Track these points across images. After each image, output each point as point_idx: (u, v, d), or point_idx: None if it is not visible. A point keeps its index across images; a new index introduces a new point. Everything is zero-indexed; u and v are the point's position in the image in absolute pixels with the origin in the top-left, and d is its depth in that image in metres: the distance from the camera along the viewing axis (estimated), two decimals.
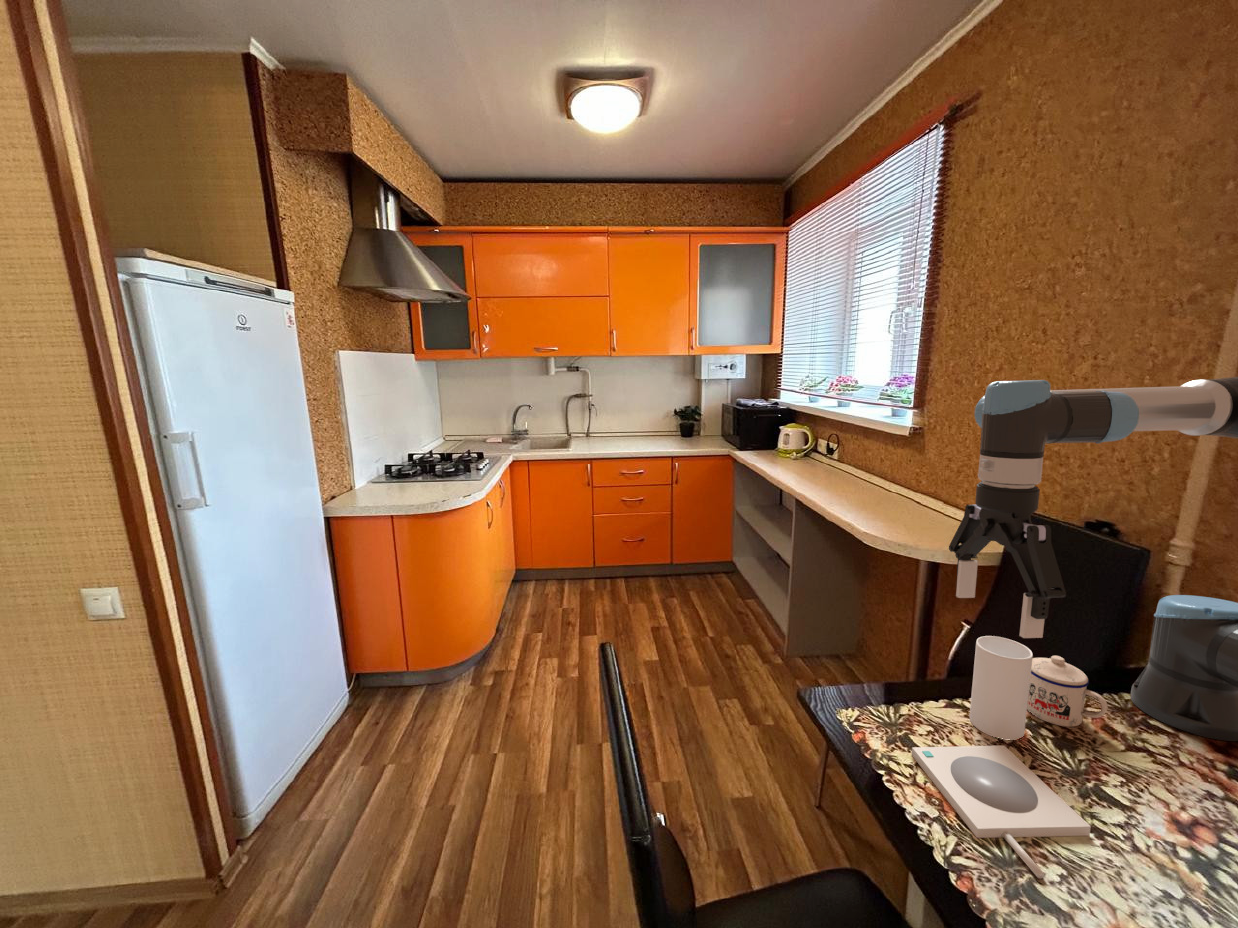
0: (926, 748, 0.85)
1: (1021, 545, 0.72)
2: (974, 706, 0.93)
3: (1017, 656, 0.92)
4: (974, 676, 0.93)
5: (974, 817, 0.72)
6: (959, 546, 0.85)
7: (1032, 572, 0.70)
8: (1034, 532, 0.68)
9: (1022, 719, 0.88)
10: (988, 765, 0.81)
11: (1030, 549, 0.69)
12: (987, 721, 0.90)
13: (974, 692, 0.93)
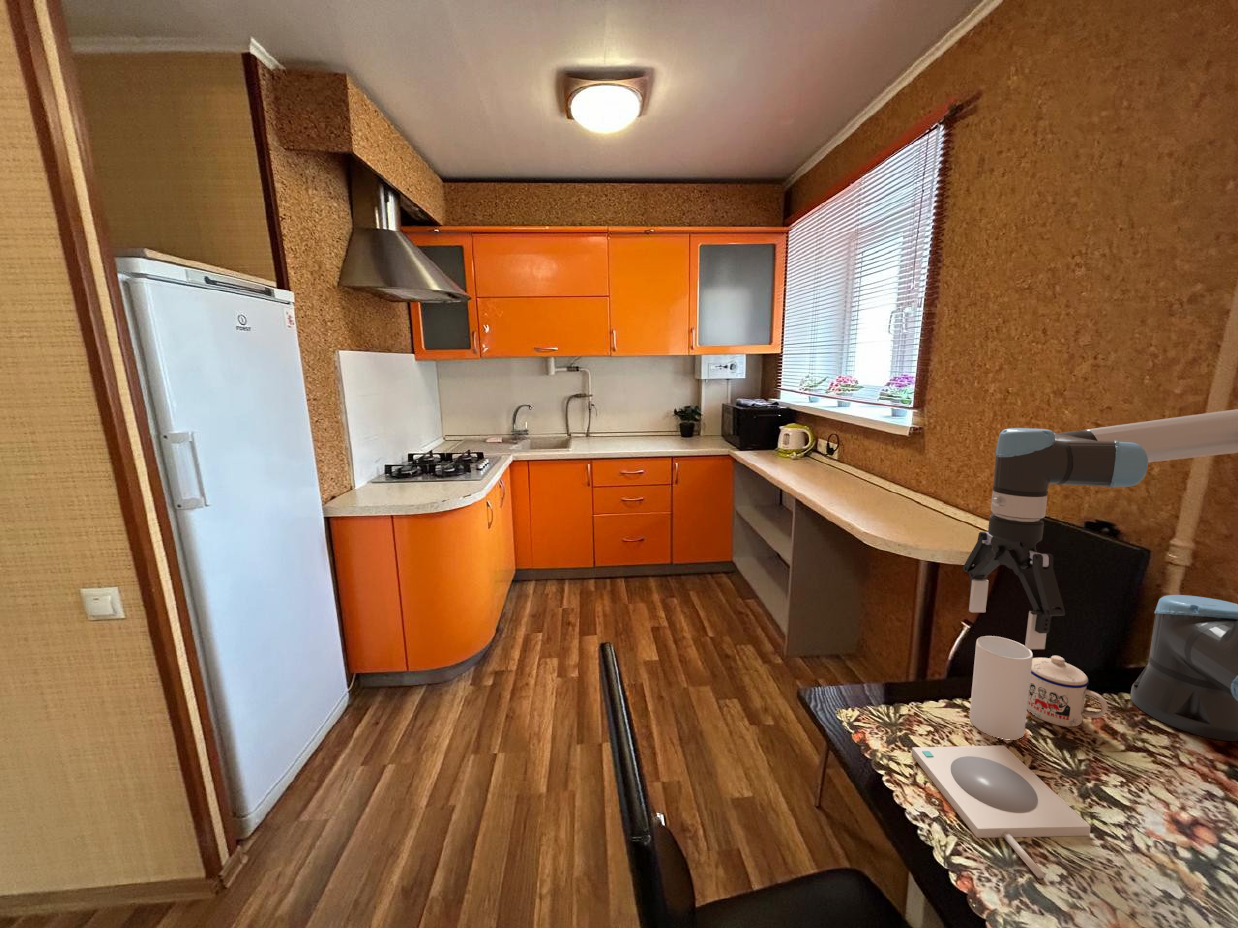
0: (926, 748, 0.85)
1: (1027, 570, 0.84)
2: (974, 706, 0.93)
3: (1017, 656, 0.92)
4: (974, 676, 0.93)
5: (974, 817, 0.72)
6: (972, 567, 0.97)
7: (1036, 593, 0.82)
8: (1039, 560, 0.81)
9: (1022, 719, 0.88)
10: (988, 765, 0.81)
11: (1035, 574, 0.81)
12: (987, 721, 0.90)
13: (974, 692, 0.93)
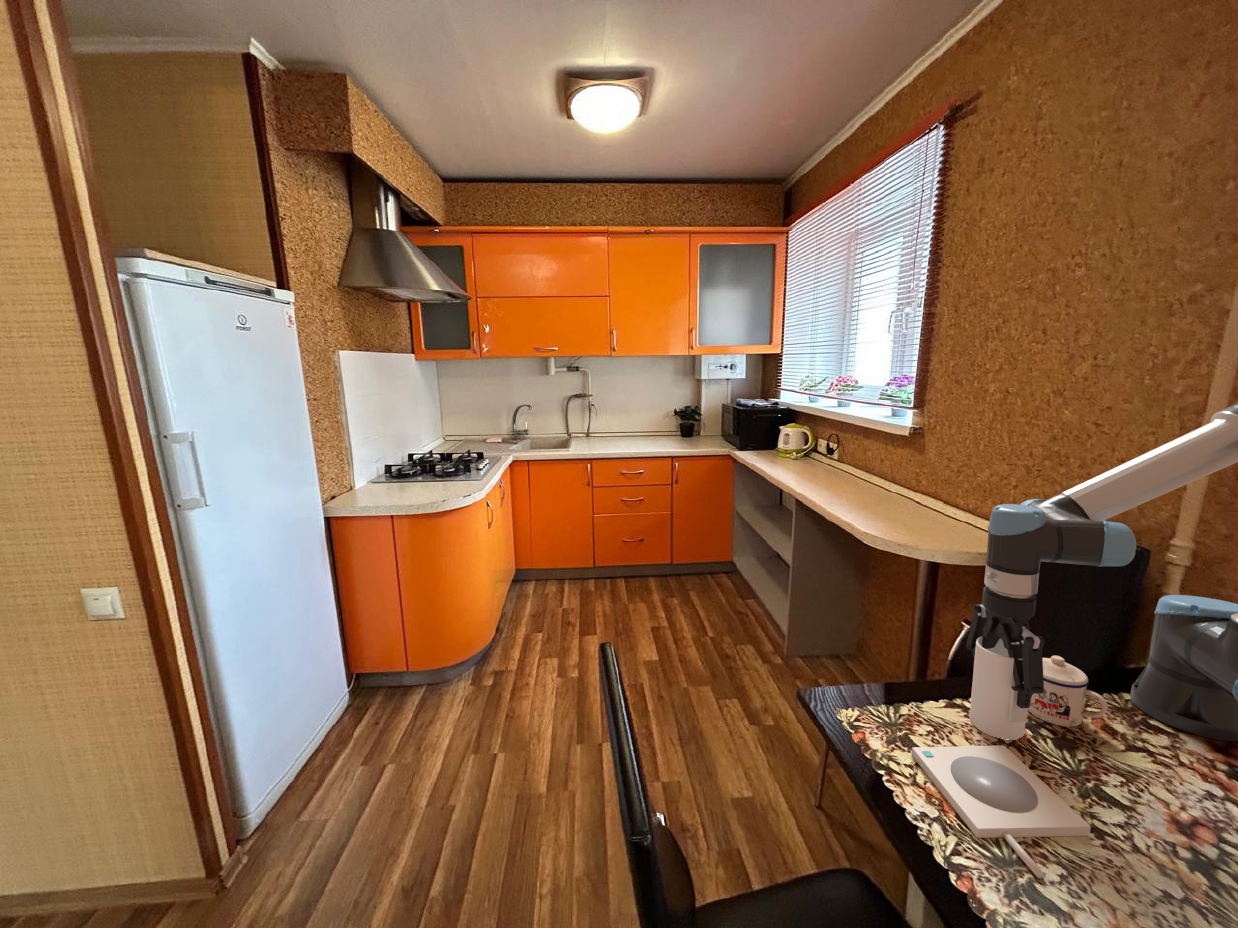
0: (926, 748, 0.85)
1: (1017, 646, 0.87)
2: (973, 706, 0.93)
3: None
4: (974, 676, 0.93)
5: (974, 817, 0.72)
6: (975, 645, 0.97)
7: (1021, 670, 0.86)
8: (1030, 643, 0.83)
9: None
10: (988, 765, 0.81)
11: (1023, 653, 0.84)
12: (987, 721, 0.90)
13: (974, 692, 0.93)
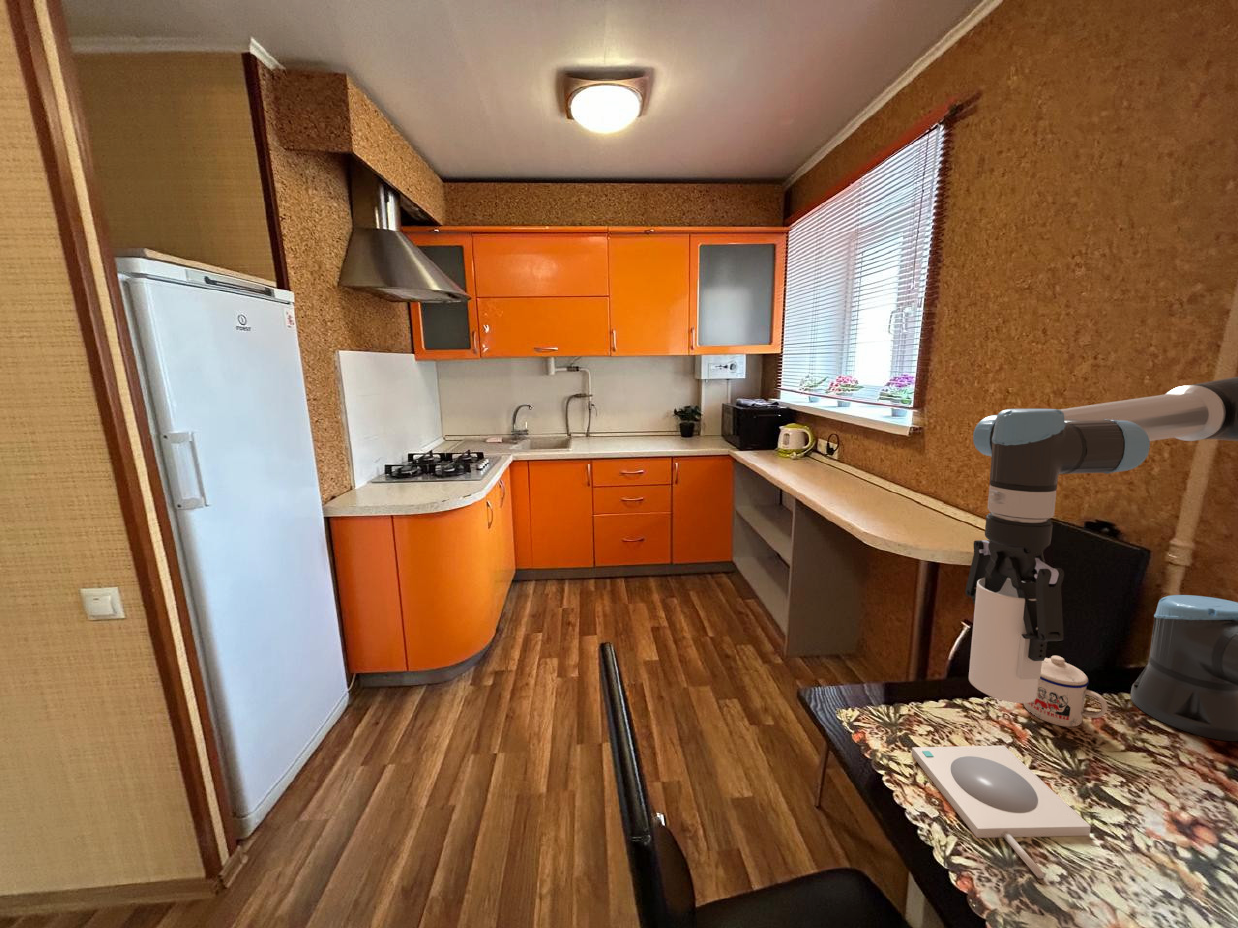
0: (926, 748, 0.85)
1: (1029, 584, 0.69)
2: (974, 663, 0.75)
3: None
4: (974, 626, 0.75)
5: (974, 817, 0.72)
6: None
7: (1034, 614, 0.68)
8: (1046, 577, 0.66)
9: None
10: (988, 765, 0.81)
11: (1037, 591, 0.67)
12: (990, 680, 0.73)
13: (974, 645, 0.75)
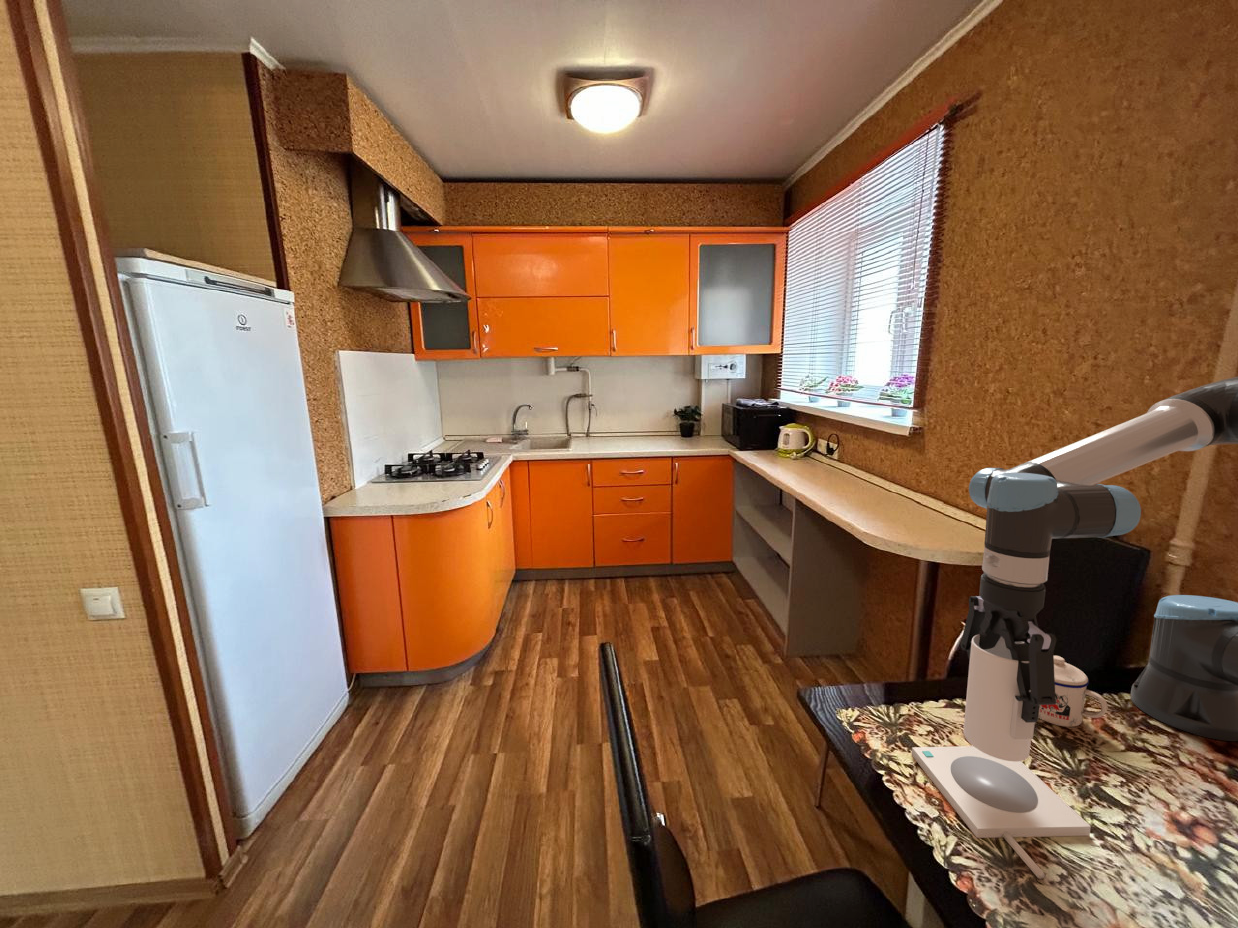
0: (926, 748, 0.85)
1: (1022, 646, 0.71)
2: (968, 718, 0.77)
3: None
4: (969, 682, 0.77)
5: (974, 817, 0.72)
6: None
7: (1027, 676, 0.70)
8: (1038, 642, 0.67)
9: None
10: (988, 765, 0.81)
11: (1030, 655, 0.68)
12: (984, 737, 0.74)
13: (969, 701, 0.76)
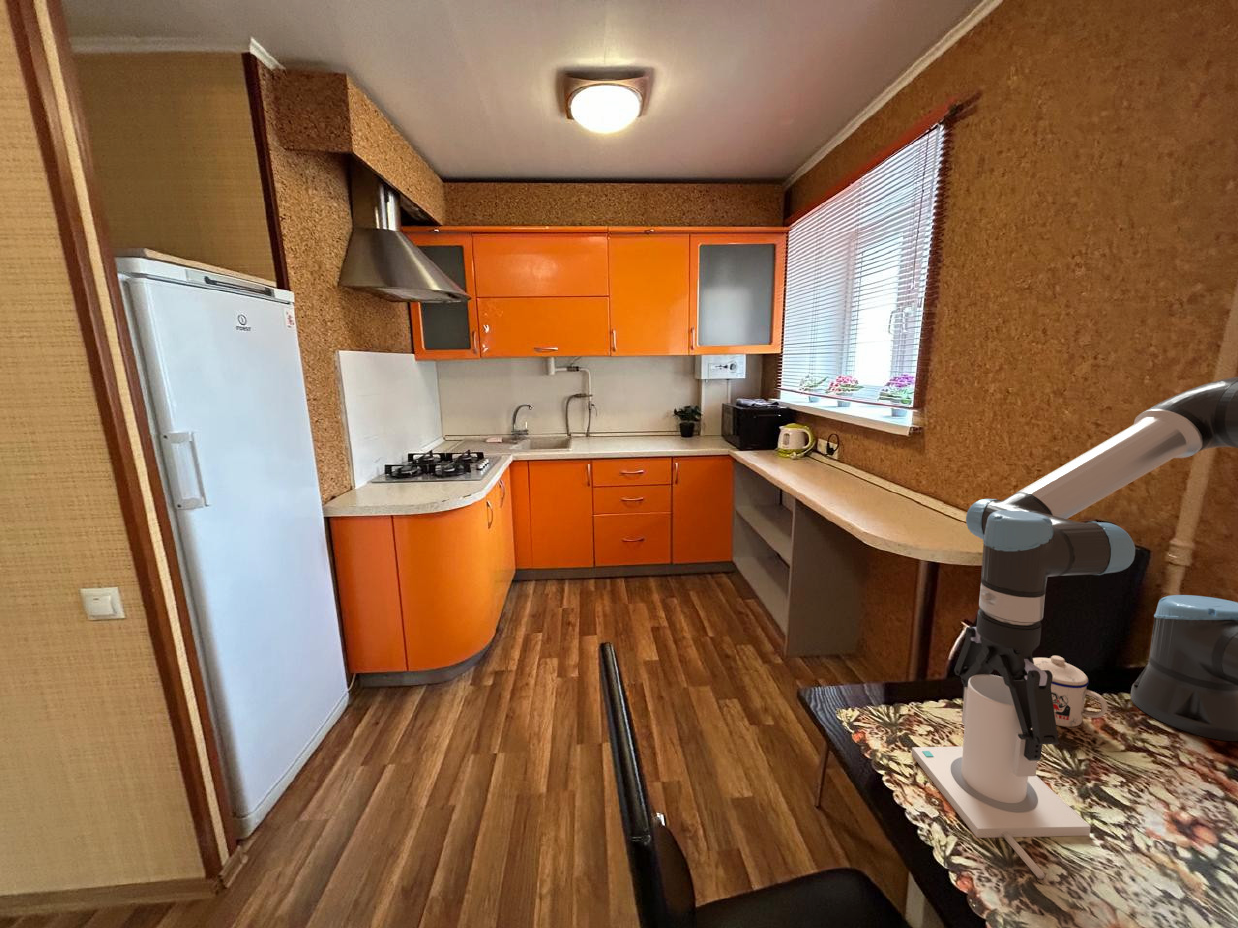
0: (926, 748, 0.85)
1: (1020, 682, 0.71)
2: (966, 759, 0.78)
3: None
4: (966, 723, 0.78)
5: (974, 817, 0.72)
6: (965, 670, 0.83)
7: (1028, 713, 0.70)
8: (1035, 679, 0.68)
9: (1024, 777, 0.73)
10: None
11: (1029, 692, 0.69)
12: (982, 779, 0.75)
13: (966, 742, 0.78)
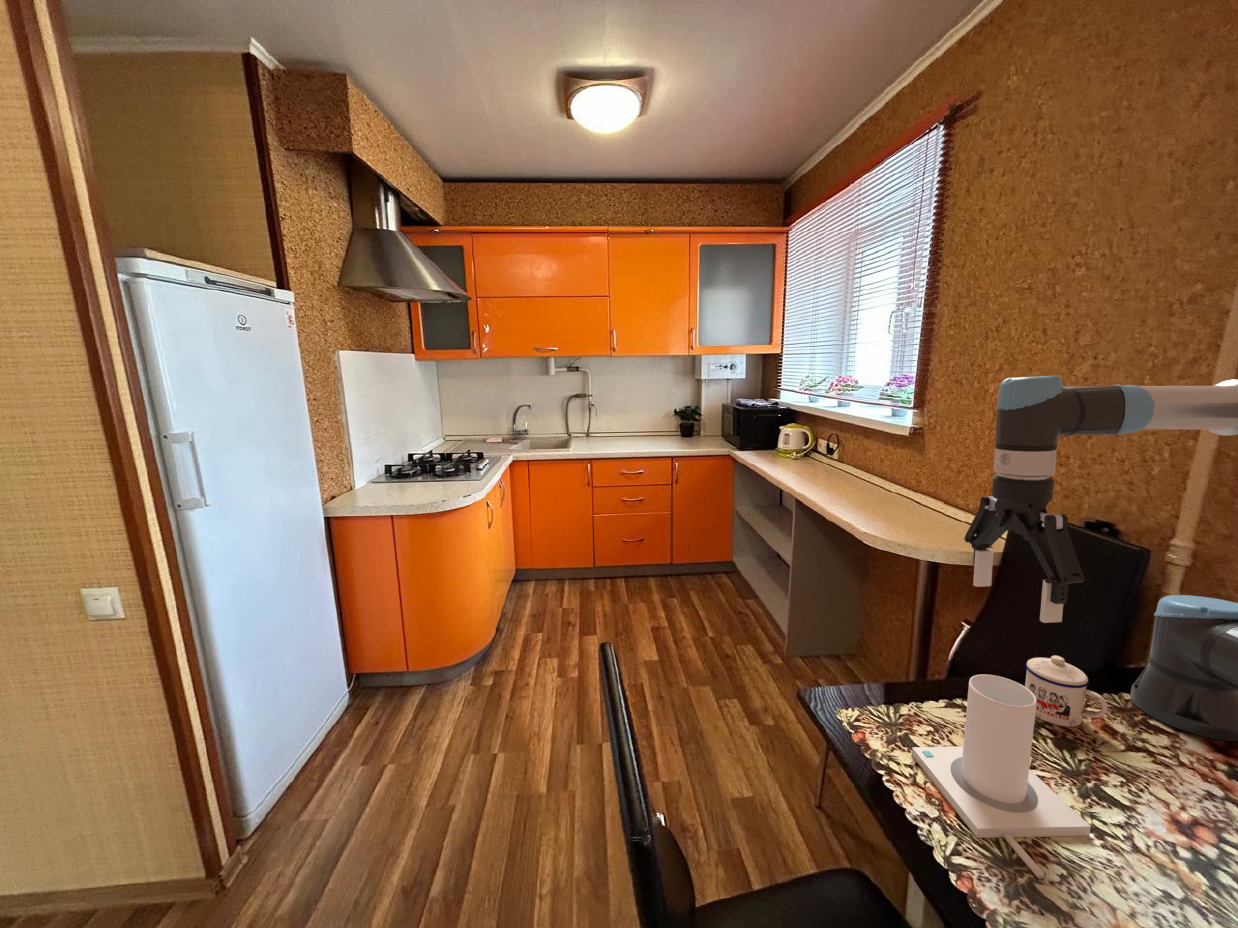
0: (926, 748, 0.85)
1: (1038, 534, 0.75)
2: (966, 759, 0.78)
3: (1018, 700, 0.77)
4: (966, 723, 0.78)
5: (974, 817, 0.72)
6: (974, 537, 0.88)
7: (1050, 559, 0.73)
8: (1052, 521, 0.72)
9: (1024, 778, 0.73)
10: None
11: (1048, 537, 0.72)
12: (982, 779, 0.75)
13: (966, 742, 0.78)
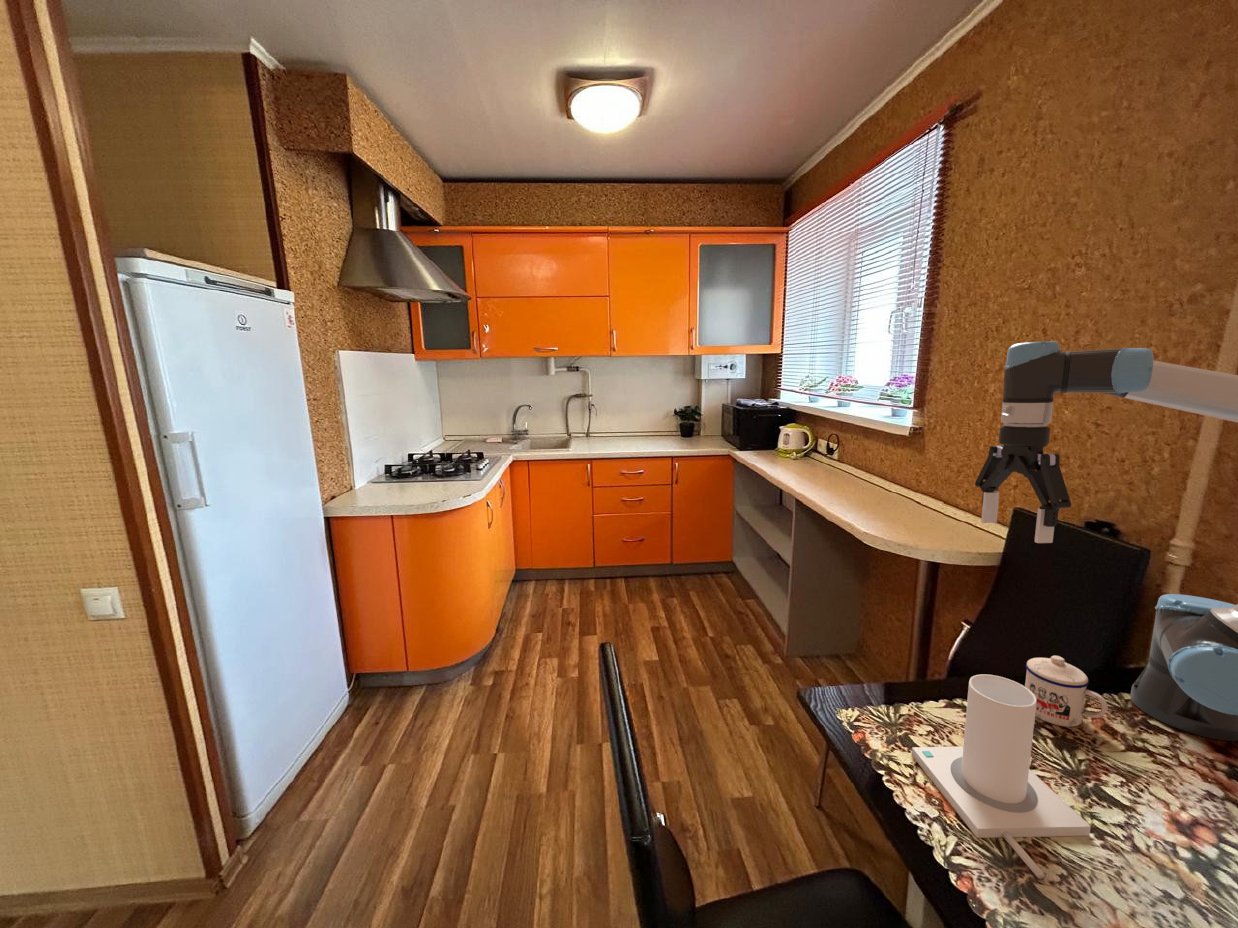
0: (926, 748, 0.85)
1: (1036, 471, 0.91)
2: (966, 759, 0.78)
3: (1018, 700, 0.77)
4: (966, 723, 0.78)
5: (974, 817, 0.72)
6: (983, 482, 1.05)
7: (1044, 491, 0.89)
8: (1046, 459, 0.88)
9: (1024, 778, 0.73)
10: None
11: (1043, 472, 0.89)
12: (982, 779, 0.75)
13: (966, 742, 0.78)
